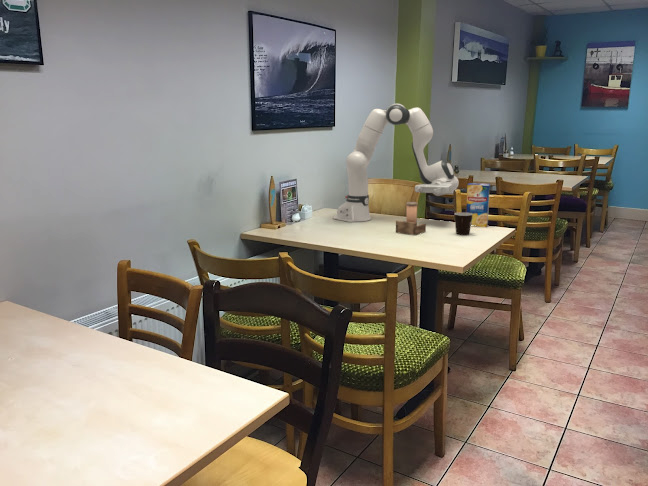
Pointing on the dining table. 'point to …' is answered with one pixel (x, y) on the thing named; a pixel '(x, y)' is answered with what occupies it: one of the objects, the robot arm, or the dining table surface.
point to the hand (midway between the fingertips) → (425, 190)
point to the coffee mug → (463, 223)
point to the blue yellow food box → (478, 203)
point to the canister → (411, 212)
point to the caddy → (409, 228)
